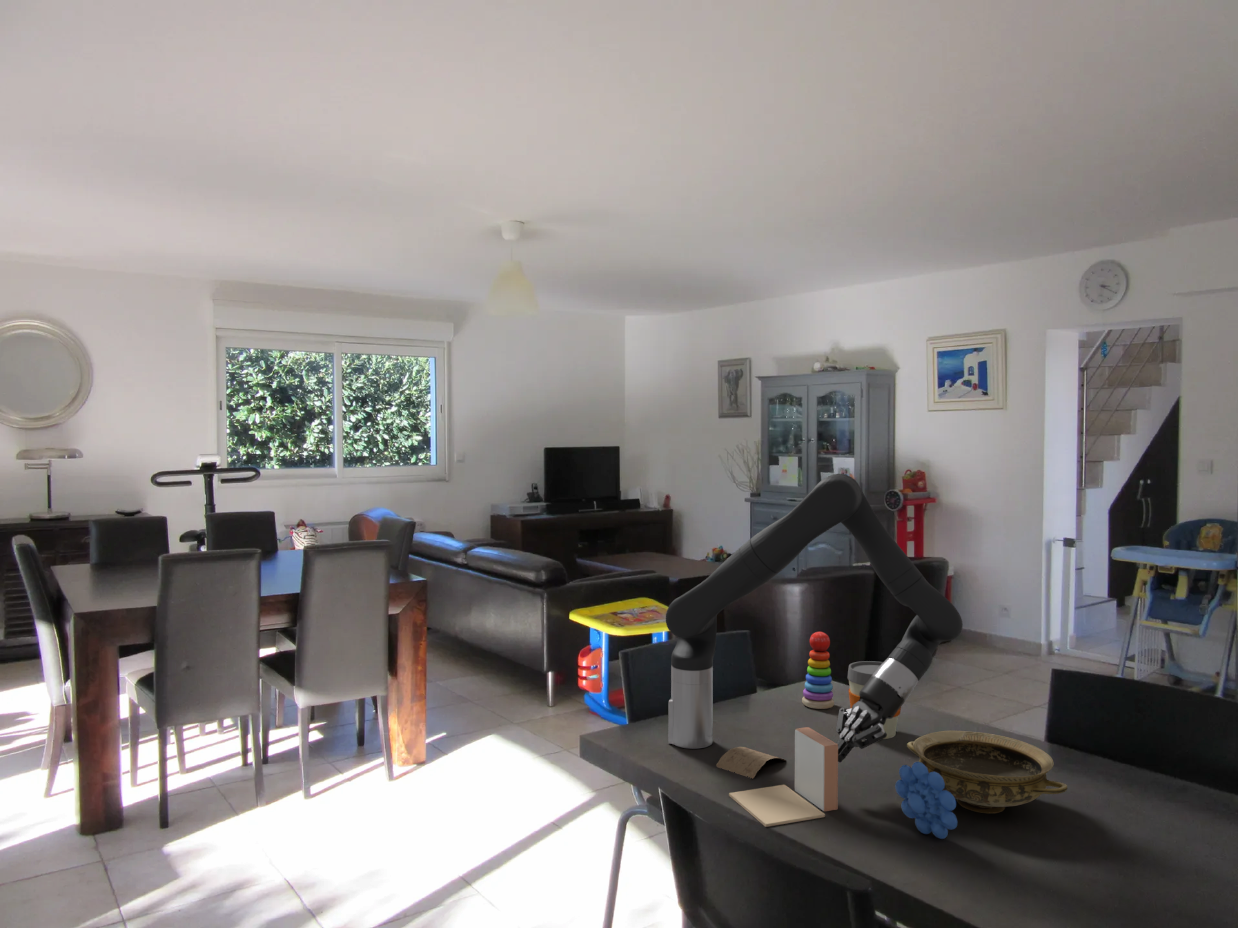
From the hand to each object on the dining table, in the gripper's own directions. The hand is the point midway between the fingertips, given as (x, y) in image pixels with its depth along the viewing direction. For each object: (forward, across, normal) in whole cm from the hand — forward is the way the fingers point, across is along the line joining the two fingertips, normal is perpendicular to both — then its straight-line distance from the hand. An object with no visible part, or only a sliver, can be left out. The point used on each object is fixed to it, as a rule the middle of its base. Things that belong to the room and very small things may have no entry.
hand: (834, 758), depth 161 cm
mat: (+14, 0, -4) cm, 15 cm away
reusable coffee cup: (-16, -27, +26) cm, 41 cm away
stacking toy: (-15, -49, +25) cm, 57 cm away
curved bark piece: (+11, -20, +1) cm, 23 cm away
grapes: (+2, +19, +9) cm, 21 cm away
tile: (+8, 0, +2) cm, 8 cm away
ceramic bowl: (-11, +12, +22) cm, 27 cm away
